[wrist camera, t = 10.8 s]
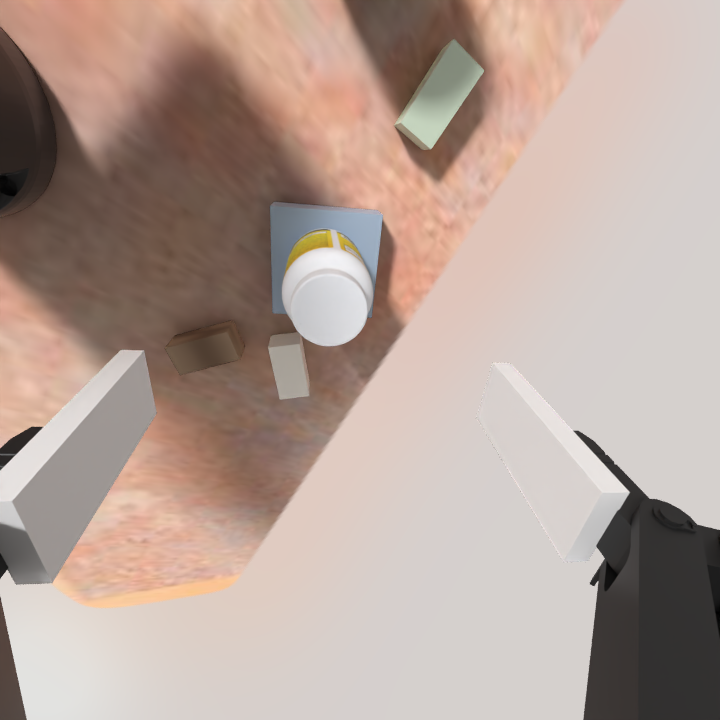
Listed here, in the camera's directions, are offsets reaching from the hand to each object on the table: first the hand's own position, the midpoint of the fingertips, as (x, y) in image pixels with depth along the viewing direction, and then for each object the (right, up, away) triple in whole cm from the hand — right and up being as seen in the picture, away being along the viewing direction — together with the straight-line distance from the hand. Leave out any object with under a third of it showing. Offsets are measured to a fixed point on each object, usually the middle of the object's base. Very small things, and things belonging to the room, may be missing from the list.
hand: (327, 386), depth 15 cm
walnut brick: (-14, +3, +23) cm, 27 cm away
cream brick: (-6, +1, +25) cm, 26 cm away
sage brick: (+7, +22, +15) cm, 27 cm away
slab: (-2, +11, +20) cm, 23 cm away
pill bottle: (-2, +9, +18) cm, 20 cm away
